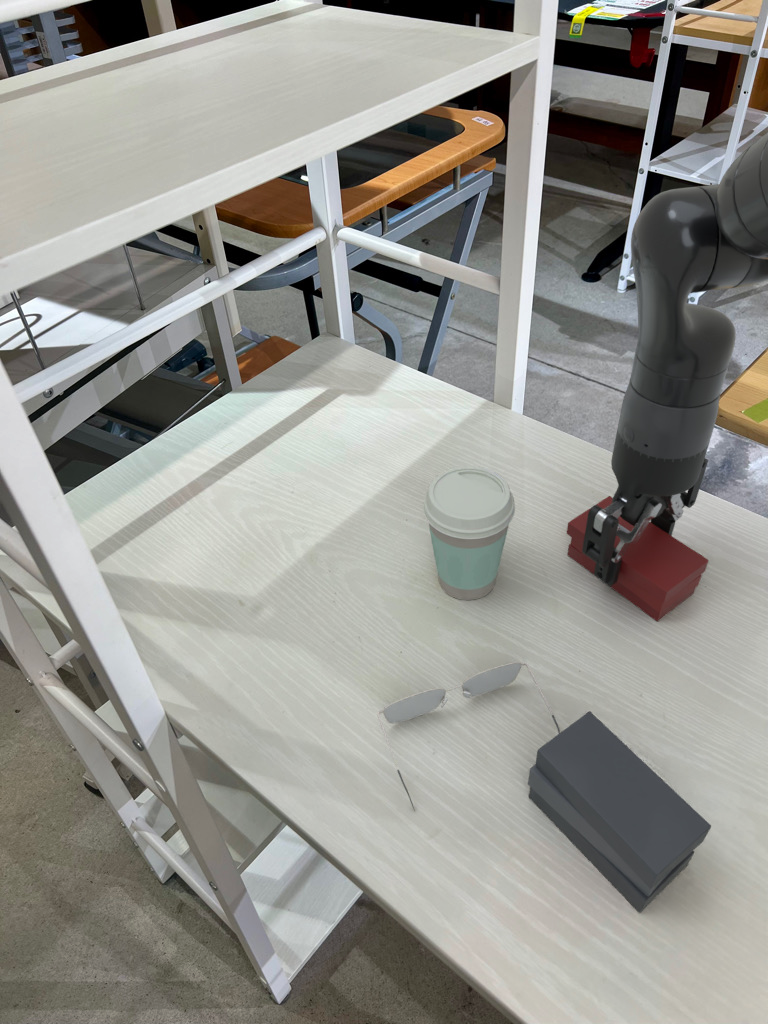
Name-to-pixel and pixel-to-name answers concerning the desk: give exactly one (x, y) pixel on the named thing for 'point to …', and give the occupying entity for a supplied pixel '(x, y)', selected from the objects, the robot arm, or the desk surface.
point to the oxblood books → (635, 587)
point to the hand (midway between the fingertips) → (631, 560)
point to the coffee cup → (468, 528)
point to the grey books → (615, 810)
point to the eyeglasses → (434, 697)
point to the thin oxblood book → (651, 557)
